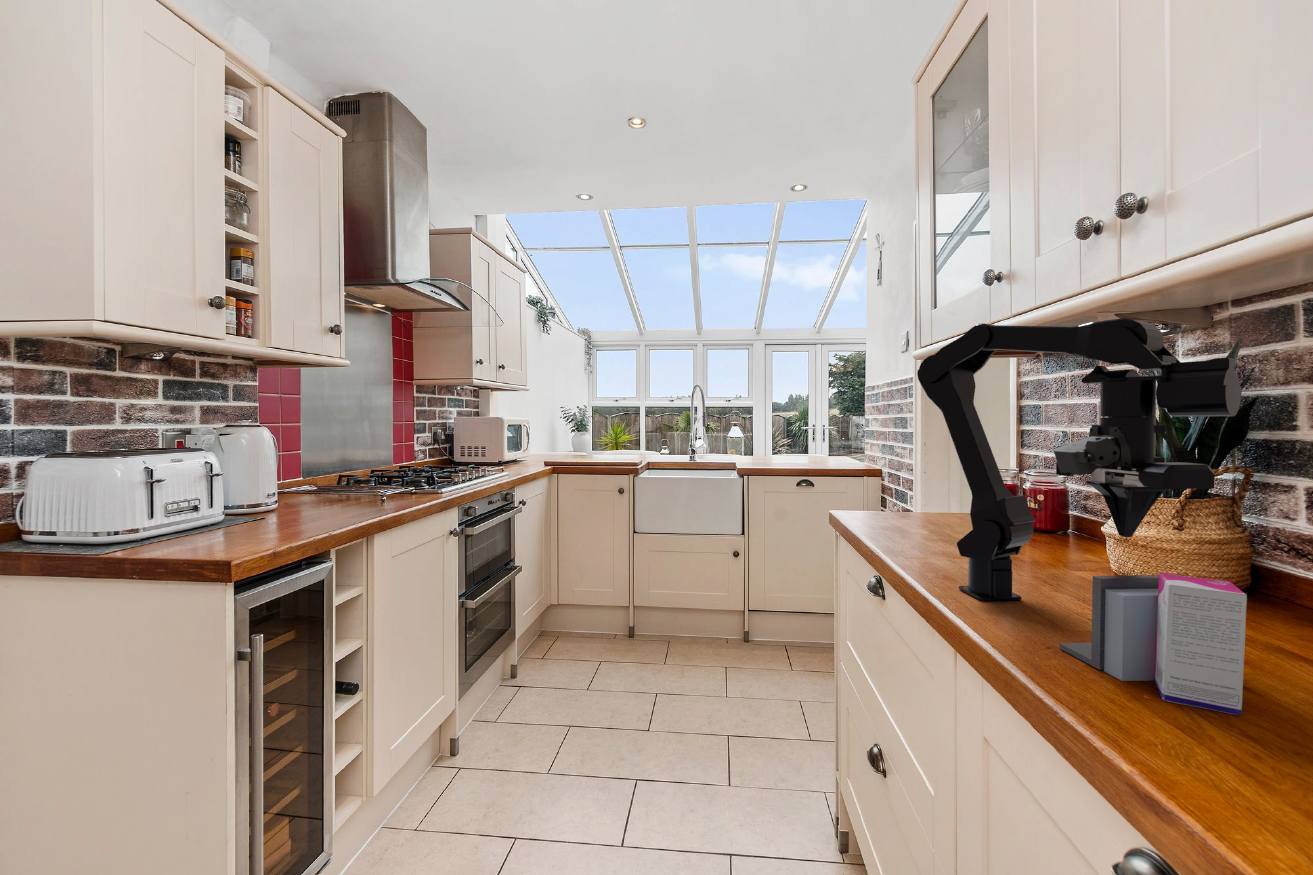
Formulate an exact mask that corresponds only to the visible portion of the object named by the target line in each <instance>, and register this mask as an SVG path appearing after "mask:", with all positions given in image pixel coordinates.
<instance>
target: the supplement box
mask: <svg viewBox="0 0 1313 875" xmlns="http://www.w3.org/2000/svg"><path fill="white" fill-rule="evenodd" d="M1158 575H1159V584H1158V605H1157V629H1156V647H1155V671H1154V680H1153V681H1154V683H1155V685H1156V689H1157V690H1158V693H1159V695H1160V697H1161V699H1162V701H1164V702H1168V703H1174V704H1177V705H1178V704H1179V705H1184V706H1185V705H1186V706H1190V707H1196V708H1201V709H1204V710H1211V711H1215V712H1219V713H1225V714H1231V715H1236V716H1241V715H1242V709H1243V691H1244V668H1245V667H1244V666H1245V651H1246V649H1245V648H1246V647H1245V646H1246V623H1247V622H1246V621H1247V601H1248V595H1247V593H1245V592H1244V591H1242V590H1241V589H1240V588H1239V587H1237V585H1235V584H1234V583H1233V582H1232V581H1229V580H1222V579H1214V578H1213V579H1212V578H1204V577H1196V576H1195V577H1194V576H1187V575H1181V574H1171V573H1163V572H1160V573H1159V574H1158Z"/></svg>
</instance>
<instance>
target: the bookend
mask: <svg viewBox="0 0 1313 875" xmlns="http://www.w3.org/2000/svg"><path fill="white" fill-rule="evenodd" d="M1091 584H1092V586H1091V587H1092V590H1091V592H1092V594H1091V595H1092V596H1091V597H1092V598H1091V600H1092V601H1091V602H1092V603H1091V604H1092V605H1091V642H1060V643H1059V645H1058V646H1059V649H1060V650H1062V651H1064V652H1065V653H1068V654H1070V656H1073V657H1075V658H1077V659H1079V660H1080V661H1082V662H1084V663H1086V664H1088V665H1089V666H1092V667H1093V668H1096V669H1097V670H1099V671H1104V648H1105V590H1106V589H1158V584H1159V574H1144V575H1143V574H1142V575H1141V574H1140V575H1139V574H1138V575H1137V574H1135V575H1133V574H1129V575H1128V574H1127V575H1123V574H1122V575H1092V583H1091Z"/></svg>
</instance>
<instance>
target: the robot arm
mask: <svg viewBox="0 0 1313 875" xmlns="http://www.w3.org/2000/svg"><path fill="white" fill-rule="evenodd" d="M997 351H1010V352H1011V351H1012V352H1033V353H1050V354H1051V353H1052V354H1068V355H1073V356H1078V357H1083V358H1086V359H1091V360H1095V361H1100V362H1103V363H1108V364H1116V365H1124V366H1132V367H1134V368H1136V369H1139V370H1144V371H1155V372H1161V373H1160V374H1161V375H1146V376H1140V373H1139V372H1138V371H1137V370H1136V369H1134V368H1130V369H1116V370H1111V369H1108V367H1107V366H1105V365H1096V366H1094V368H1093V369H1092V370H1091V371H1090V372H1089V373H1088V374H1086V375H1085V376H1083V377H1082V378H1081V383H1082V384H1087V385H1088V384H1089V385H1100V386H1099V388H1100V389H1099V390H1100V391H1099V392H1100V393H1099V394H1100V397H1099V407H1100V408H1099V424H1091V427H1090V428H1089V435H1088V437H1084V438H1083V439H1078V440H1075V441H1072V442H1070V443H1067V444H1065V445H1062V446H1058V447H1056V448H1054V449H1053V454H1054V457H1055V459H1056V463H1055V469H1056V470H1055V473H1056V474H1055V475H1057V476H1063V477H1074V475H1075V476H1076V475H1078V476H1084V475H1090V480H1086V481H1085V484H1086V485H1087V486H1090V487H1093V488H1094V489H1095V490H1096V491H1097V492H1099V493H1100V494H1101V495H1102V497H1103V499H1104V501H1105V503H1106V505H1107V508H1108V510H1109V512H1110V516H1111V518H1112V521H1113V523H1114V525H1115V526H1114V527H1115V528H1116V530H1117V533H1118V536H1120V537H1123V538H1132V537H1133V535H1135V533H1136V531H1137V530H1138V528H1139V526H1140V525H1141V523H1142V522H1143V520H1144V519H1145V517H1146V516H1147V514H1148V513H1149V511H1150V510H1151V508H1152V507H1153V506H1154V505H1155V503H1156V502H1157V501H1158V499H1159V498H1160V497H1161V496H1162V495H1163V493H1164V492H1165V491H1171V490H1181V489H1183V490H1184V489H1185V490H1195V489H1196V490H1199V489H1200V490H1201V489H1204V490H1207V489H1208V490H1209V489H1215V471H1214V469H1212V468H1211V467H1210V466H1209V465H1208V464H1207V463H1206V464H1205V463H1194V462H1175V461H1174V462H1165V457H1163V456H1162V457H1161V456H1156V434H1165V432H1166V430H1165V428H1166V424H1157V405H1158V407H1159V408H1160V409H1164V410H1165V409H1166V411H1167V413H1168V415H1169V416H1170V417H1175V418H1176V417H1235V416H1236V415H1237V414H1238V411H1239V409H1240V406H1241V400H1242V386H1241V385H1240V383H1239V382H1240V381H1239V377H1238V373H1237V370H1236V369H1235V359H1234V358H1232V357H1219V358H1218V357H1215V358H1211V359H1207V360H1198V361H1196V360H1195V361H1184V362H1181V361H1180V360H1179V359H1178V358H1177V356H1176V355H1174V354H1173V353H1172V352H1171V351H1170V350H1169V349H1168V348H1167V347H1166V345H1164V335H1163V333H1162V331H1161V330H1160V329H1159V328H1158V327H1157V326H1156V325H1155V324H1152V323H1150V322H1146V321H1141V320H1137V319H1132V318H1131V319H1130V318H1126V317H1125V318H1122V317H1121V318H1113V319H1107V320H1099V321H1092V322H1088V323H1083V324H1080V325H1074V326H1072V325H1071V326H1053V325H1052V326H1050V325H1049V326H1046V325H1002V324H1001V325H1000V324H998V325H997V324H996V325H995V324H989V323H983V322H982V323H978V324H976V325H974V326H972V327H971V328H970V329H968V330H967V331H966V332H965V333H964V334H963V335H961V336H960V337H958V338H956V339H954V340H953V341H951V342H949V343H948V344H946V345H944V346H943V347H941V348H940V349H939V350H937V351H936V353H934V354H931V355H928V356H927V357H925V358H924V359H923V360H922V361H921V363H920V365H919V368H918V369H917V373H916V374H917V380H918V382H919V384H920V385H921V388H922V389H923V391H924V392H925V395H926V396H927V397H928V398H929V400H930V401H931V402H932V403H933V404H934V405H935V406H936V407H938V409H939V410H940V412H941V414H942V416H943V418H944V421H945V424H946V428H947V429H948V432H949V435H950V437H951V440H952V443H953V446H954V448H955V451H956V454H957V457H958V460H959V461H960V464H961V468H962V471H963V473H964V476H965V478H966V481H967V485H968V486H969V490H970V492H971V493H970V494H971V503H970V511H969V517H970V522H971V527H972V530H970V531H969V532H968V533H966V534H965V535H964V536H963V537H961V538H960V539H959V540H958V541H956V546H957V549H958V552H959V556H961V557H964V558H968V579H967V580H968V581H967V582H968V585H959V586H958V589H959V590H960V591H962V592H964V593H966V594H968V595H970V596H972V597H973V598H975V599H977V600H980V601H1021V600H1022V599H1023V598H1022V595H1020V594H1018V593H1015V592H1013V576H1014V574H1013V572H1014V571H1013V559H1012V557H1011V556H1017V555H1018V556H1019V554H1020V553H1021V550H1022V548H1023V546H1024V545H1026V544H1027V543H1028V542H1030V541H1031V538H1032V536H1033V535H1034V532H1035V531H1034V530H1035V529H1034V523H1033V522H1036V520H1037V519H1036V518H1035V516H1034V515H1032V513H1031V510H1030V508H1029V502H1028V499H1027V497H1026V495H1024V494H1023V495H1014V494H1013V493H1012V492H1011V491H1010V490H1009V489H1008V488H1007V487H1006V485H1005V482H1004V479H1003V477H1002V475H1001V472H1000V470H999V466H998V463H997V461H996V459H995V456H994V453H993V451H992V448H991V446H990V443H989V440H988V438H987V435H986V432H985V430H984V427H983V425H982V421H981V419H980V417H979V413H978V411H977V409H976V406H975V402H974V400H975V393H976V382H975V377H974V375H975V374H977V373H978V372H979V371H981V369H982V368H983V367H985V366H986V364H987V363H988V361H989V360H990V359H991V357H992V356H993V355H994V354H995V353H996V352H997Z"/></svg>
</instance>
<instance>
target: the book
mask: <svg viewBox="0 0 1313 875" xmlns="http://www.w3.org/2000/svg"><path fill="white" fill-rule="evenodd" d="M1157 605H1158V589H1106V590H1105V648H1104V670H1103V672H1105V673H1107V674H1109V675H1110V676H1113V677H1114V678H1116V679H1118V680H1119V681H1121V682H1127V681H1128V682H1129V681H1131V682H1133V681H1138V682H1139V681H1154V671H1155V647H1156V629H1157Z"/></svg>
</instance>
